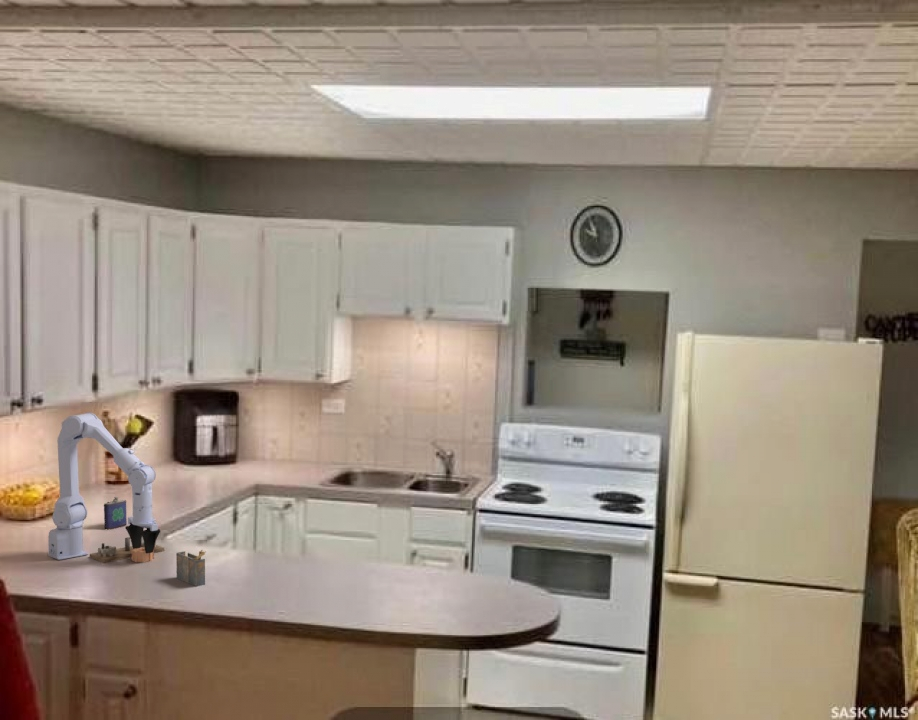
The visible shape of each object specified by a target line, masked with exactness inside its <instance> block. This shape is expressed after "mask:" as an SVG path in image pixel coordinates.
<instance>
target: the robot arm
mask: <svg viewBox="0 0 918 720" xmlns="http://www.w3.org/2000/svg"><path fill="white" fill-rule="evenodd" d="M83 438H87V439H94V440H95V441H97V442H98V443H99V444H100V445H101V446H102V447H103V448H104V449H105V450H107V451H108V453H110V454H111V455H112V457H113V462H114V463H115V464H116V466H117V467H118V468H120V470H121V471H122V472H123V473H124V474H125V475H126V476H127V481H128V484H129V485H130V486H131V491H132V495H131V497H132V516H129V517H127V524H128V525H125V526H124V527H125V530H126V531H127V533H128V536H129V538H130V544H131V546H133V549H137V548H140V547H141V540H142V539H143V540H144V547H145V552H146V553H147V554H148V553H153V550H154V546H155V542H156V541H157V539H158V537H159V535H160V534H161V529H159V525H158V523H157V522H156V521H157V519H156V518H154V517H153V482H154V481H155V480H156V471H155V469H154V468H153V466H152V465H149V464H145V462H144V461H142V460H141V459H139V457H138V456H136V455H135V451H134V450H133V449H130V448H127V447H126V448H125V447H124V448H123V447H122V445H120V443H119V442H118V441H117V440H116V439H115V437H113V435H112V434H111V433H110V431H108V429H106V427H105V425H104V424H103V421H102V420H101V419H100V418H98V416H97V415H96V414H95V413H93V412H85V413H82V414H77V415H76V414H73V415H69V416H68V417H66V418H65V419H64V420H63V421H62V422H61V429H60V431H59V434H58V437H57V457H58V461H57V462H58V463H57V464H58V478H59V479H58V480H59V483H58V485H59V497H58V498H57V500H56V501H55V503H54V510H53V513H52V522H53V523H54V525H55V528H53V529H50V530H49V532H48V535H47V536H48V537H47V538H48V539H47V540H48V542H47V543H48V553H47V556H49V557H51V558H53V559H55V560H59V561H61V560H65V559H66V560H67V559H71V558H77V557H82V556H88V555H89V552H87V551H85V550H84V532H83V531H84V527H83V526H84V521H85V520H86V519H87V516H88V509H87V506H86V504H85V498H84V497H83V496H82V495H81V494H80V484H79V483H80V482H79V481H80V480H79V464H78V463H79V462H78V461H79V460H78V459H79V458H78V443H79V442H81V440H83ZM156 543H157V542H156Z"/></svg>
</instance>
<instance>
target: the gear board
mask: <svg viewBox="0 0 918 720" xmlns="http://www.w3.org/2000/svg"><path fill="white" fill-rule="evenodd" d="M130 544H131V539H130V537H124V547H120V548H117V547H116V546H112V545H105V543H103V542H102V543H101V547H98V549H97V552H93V553H89V558H91V559H92V560H96V561H98V562H101V563H107V562H108V563H109V562H114V561H119V560H125V559H129V558H132V550H133V546H132V545H130ZM141 547H143V548H145V547H144V540H143V538H142V540H141ZM141 547H140V548H141ZM160 551H161V552H164V551H165V547H163V546H160V545H158V544H157V542H155V546H154V554H155V553H161V552H160Z"/></svg>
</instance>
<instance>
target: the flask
mask: <svg viewBox="0 0 918 720" xmlns="http://www.w3.org/2000/svg"><path fill="white" fill-rule="evenodd" d="M113 498H114V499H113V500H110V501H107V502H105V503H104V504H103V516H104V518H103V519H104V529H107V530H106V531H108V530H109V529H110V530H113V529H114V528H115V529H118V528H123V527H126V526H127V524H128V517H127V500H126V499H119V497H117V496H114V497H113ZM115 529H114V530H115ZM110 530H109V531H110Z"/></svg>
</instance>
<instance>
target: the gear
mask: <svg viewBox="0 0 918 720" xmlns="http://www.w3.org/2000/svg"><path fill="white" fill-rule="evenodd" d="M154 556H155V553H154V550H153V553H148V554H147V553H146V552H145V548H143V547H141V548H137V549H133V550H132V557H131V561H132V562H134V563H146V562H152V561H153V560H154V559H155V557H154Z"/></svg>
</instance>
